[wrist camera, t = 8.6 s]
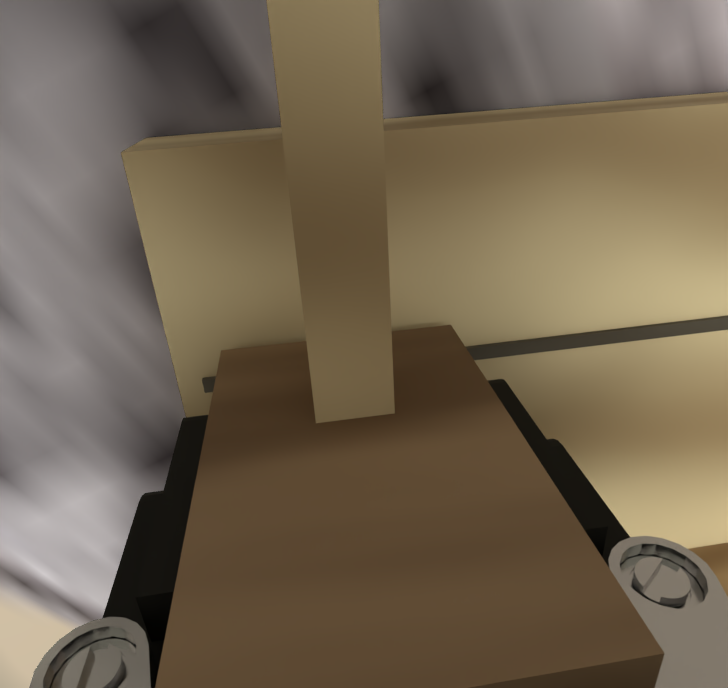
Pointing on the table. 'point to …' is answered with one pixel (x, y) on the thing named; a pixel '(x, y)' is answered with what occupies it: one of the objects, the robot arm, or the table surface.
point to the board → (500, 277)
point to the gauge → (375, 460)
